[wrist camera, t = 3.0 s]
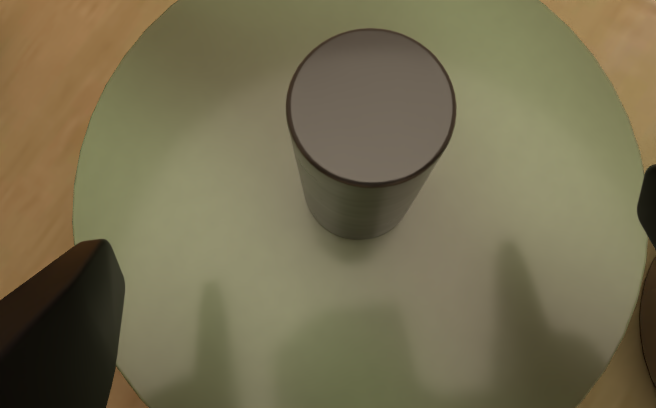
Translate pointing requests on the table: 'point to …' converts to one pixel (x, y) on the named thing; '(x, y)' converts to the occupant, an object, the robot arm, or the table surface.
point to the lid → (364, 206)
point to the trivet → (649, 321)
